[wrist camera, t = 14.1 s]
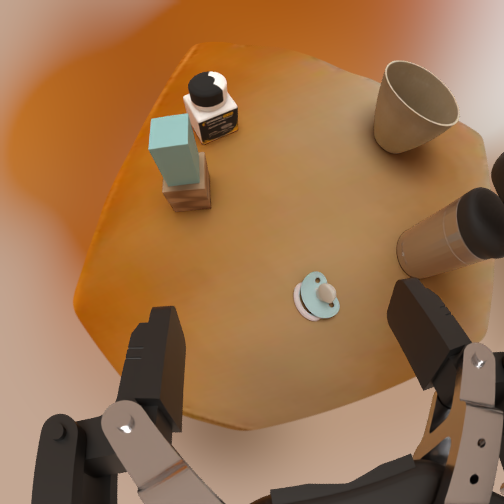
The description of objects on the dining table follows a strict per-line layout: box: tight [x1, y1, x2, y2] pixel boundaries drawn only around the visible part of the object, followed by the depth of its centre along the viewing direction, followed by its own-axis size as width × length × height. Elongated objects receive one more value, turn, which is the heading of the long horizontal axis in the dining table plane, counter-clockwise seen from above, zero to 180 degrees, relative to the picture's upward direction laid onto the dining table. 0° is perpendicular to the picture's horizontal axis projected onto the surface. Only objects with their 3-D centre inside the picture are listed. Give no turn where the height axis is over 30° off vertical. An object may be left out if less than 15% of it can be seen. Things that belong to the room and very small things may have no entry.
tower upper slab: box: [163, 152, 208, 203], centre depth 42 cm, size 6×6×4 cm
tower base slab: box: [170, 167, 211, 212], centre depth 46 cm, size 6×6×4 cm
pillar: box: [149, 113, 200, 187], centre depth 35 cm, size 4×4×10 cm
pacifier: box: [294, 272, 340, 321], centre depth 42 cm, size 7×6×6 cm
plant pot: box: [374, 61, 460, 154], centre depth 44 cm, size 15×15×16 cm
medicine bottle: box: [183, 72, 238, 144], centre depth 45 cm, size 7×7×12 cm
